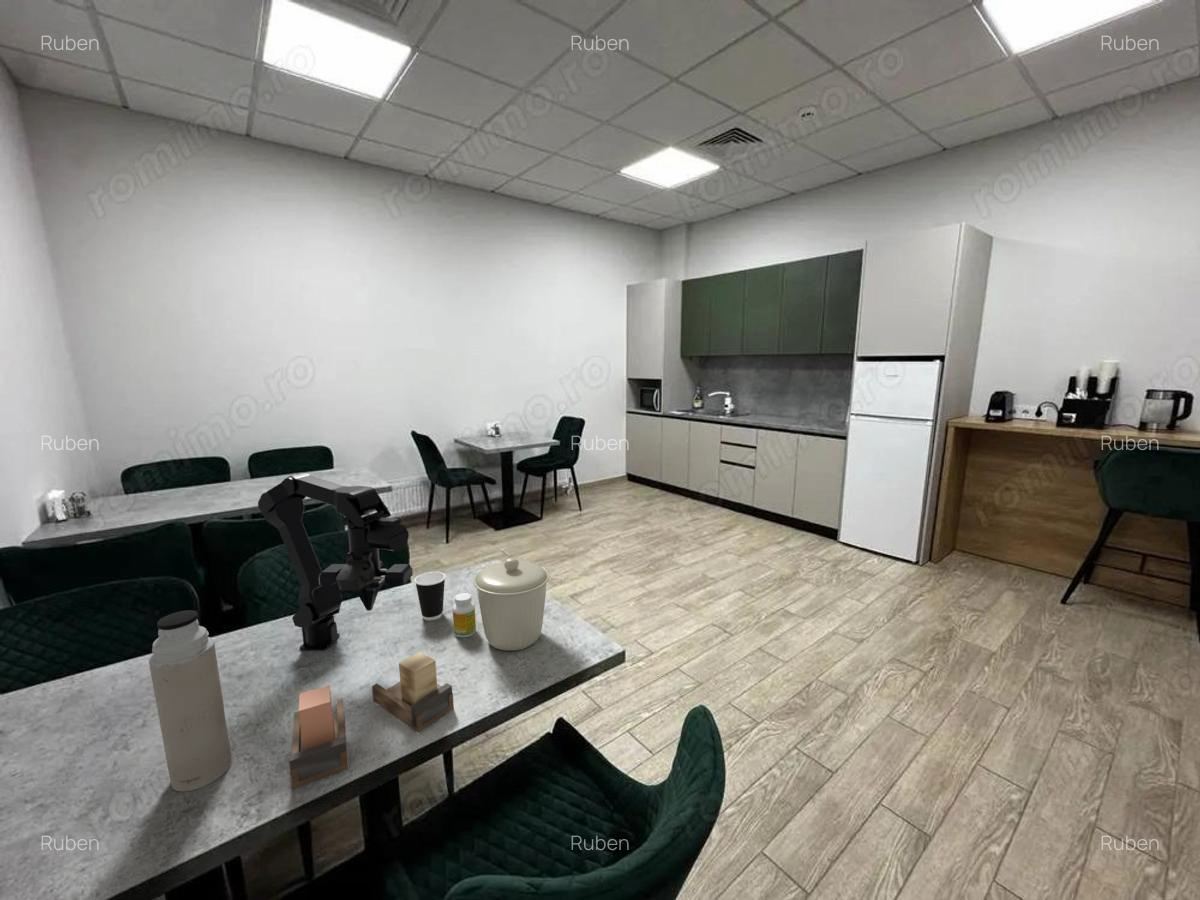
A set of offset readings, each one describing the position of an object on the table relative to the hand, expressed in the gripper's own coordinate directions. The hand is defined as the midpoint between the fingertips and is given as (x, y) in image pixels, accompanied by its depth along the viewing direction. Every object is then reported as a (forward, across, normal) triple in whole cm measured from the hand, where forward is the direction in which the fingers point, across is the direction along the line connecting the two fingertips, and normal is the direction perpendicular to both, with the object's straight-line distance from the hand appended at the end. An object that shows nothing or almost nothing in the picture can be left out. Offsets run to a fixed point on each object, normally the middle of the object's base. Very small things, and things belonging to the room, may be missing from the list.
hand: (369, 609), depth 111 cm
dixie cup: (+12, +7, +19) cm, 24 cm away
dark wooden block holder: (+12, +3, -27) cm, 30 cm away
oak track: (+12, +15, -16) cm, 25 cm away
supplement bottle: (+12, +18, +11) cm, 24 cm away
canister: (+12, +31, +8) cm, 34 cm away
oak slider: (+11, +17, -17) cm, 26 cm away
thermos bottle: (+12, -14, -32) cm, 37 cm away
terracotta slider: (+11, +3, -27) cm, 30 cm away
